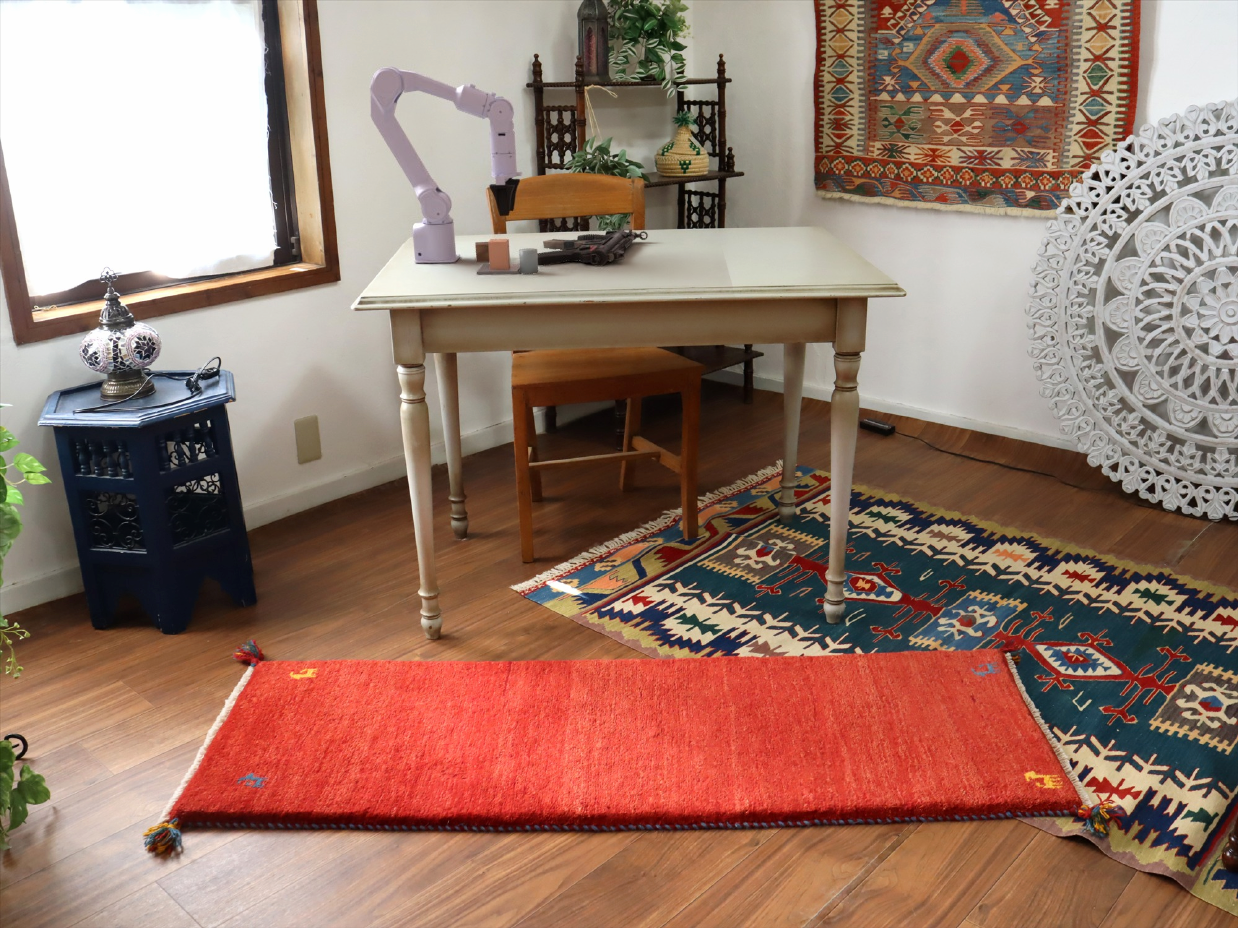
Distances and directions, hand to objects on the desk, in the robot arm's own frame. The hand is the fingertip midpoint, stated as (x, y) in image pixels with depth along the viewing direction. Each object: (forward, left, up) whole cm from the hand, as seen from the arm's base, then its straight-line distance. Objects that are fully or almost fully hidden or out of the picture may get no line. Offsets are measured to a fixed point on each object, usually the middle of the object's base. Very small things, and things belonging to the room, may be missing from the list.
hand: (506, 213), depth 248 cm
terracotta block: (0, -15, -10) cm, 18 cm away
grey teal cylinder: (+7, -18, -10) cm, 22 cm away
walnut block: (-5, -2, -11) cm, 12 cm away
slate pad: (0, -15, -10) cm, 18 cm away
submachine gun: (+18, +5, -11) cm, 22 cm away
